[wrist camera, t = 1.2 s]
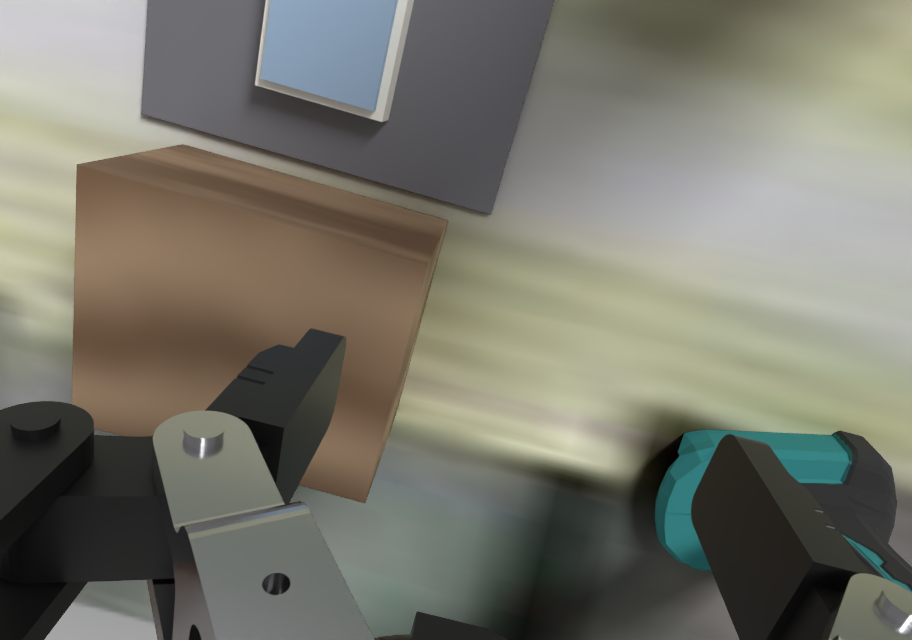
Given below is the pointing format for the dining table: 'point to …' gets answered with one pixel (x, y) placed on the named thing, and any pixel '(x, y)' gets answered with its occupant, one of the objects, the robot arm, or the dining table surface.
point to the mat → (349, 135)
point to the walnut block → (242, 294)
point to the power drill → (819, 470)
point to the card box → (335, 52)
